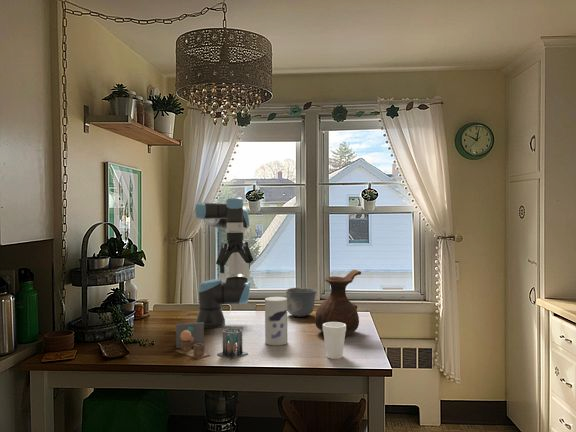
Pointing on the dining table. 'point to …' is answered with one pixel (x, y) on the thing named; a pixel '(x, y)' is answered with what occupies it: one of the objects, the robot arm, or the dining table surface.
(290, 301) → the bowl
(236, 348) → the tube ball
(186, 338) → the rack ball terracotta
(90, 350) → the dining table surface
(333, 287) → the jug
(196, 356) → the rack
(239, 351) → the grey barred cage
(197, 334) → the grey upright block
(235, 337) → the teal ball
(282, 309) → the container
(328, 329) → the foam cup
